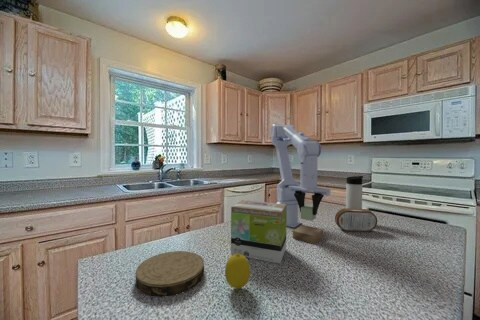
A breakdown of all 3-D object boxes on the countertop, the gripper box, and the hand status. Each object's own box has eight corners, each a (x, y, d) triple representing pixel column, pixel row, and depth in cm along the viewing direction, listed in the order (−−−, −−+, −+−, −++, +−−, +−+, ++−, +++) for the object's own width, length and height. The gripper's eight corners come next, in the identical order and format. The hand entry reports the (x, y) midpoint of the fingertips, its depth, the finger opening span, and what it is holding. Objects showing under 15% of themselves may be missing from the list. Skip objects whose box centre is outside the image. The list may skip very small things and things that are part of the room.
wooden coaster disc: (183, 304, 45) (183, 290, 45) (119, 291, 49) (119, 277, 49) (214, 266, 60) (214, 255, 60) (162, 258, 65) (162, 248, 64)
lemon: (224, 282, 52) (224, 248, 52) (248, 281, 53) (248, 247, 52) (225, 297, 47) (225, 259, 46) (251, 296, 47) (251, 258, 47)
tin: (374, 230, 87) (374, 208, 87) (378, 233, 84) (378, 210, 84) (334, 228, 89) (334, 207, 88) (337, 231, 86) (337, 209, 85)
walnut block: (292, 239, 79) (292, 230, 79) (301, 232, 85) (301, 224, 85) (315, 245, 74) (315, 236, 74) (323, 237, 80) (323, 229, 80)
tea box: (229, 256, 65) (229, 206, 65) (241, 243, 75) (241, 199, 74) (281, 265, 60) (281, 210, 60) (286, 249, 70) (287, 202, 69)
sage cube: (300, 218, 79) (300, 207, 79) (305, 216, 82) (305, 205, 82) (311, 220, 77) (311, 209, 76) (315, 218, 80) (316, 207, 80)
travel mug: (365, 223, 95) (366, 176, 94) (349, 223, 95) (350, 176, 94) (357, 219, 101) (358, 175, 100) (343, 219, 101) (343, 175, 100)
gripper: (284, 174, 80) (284, 212, 81) (326, 177, 71) (325, 219, 72) (293, 173, 86) (293, 208, 86) (332, 175, 77) (332, 214, 77)
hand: (308, 213), depth 79 cm, fingers closed on sage cube, 4 cm apart
